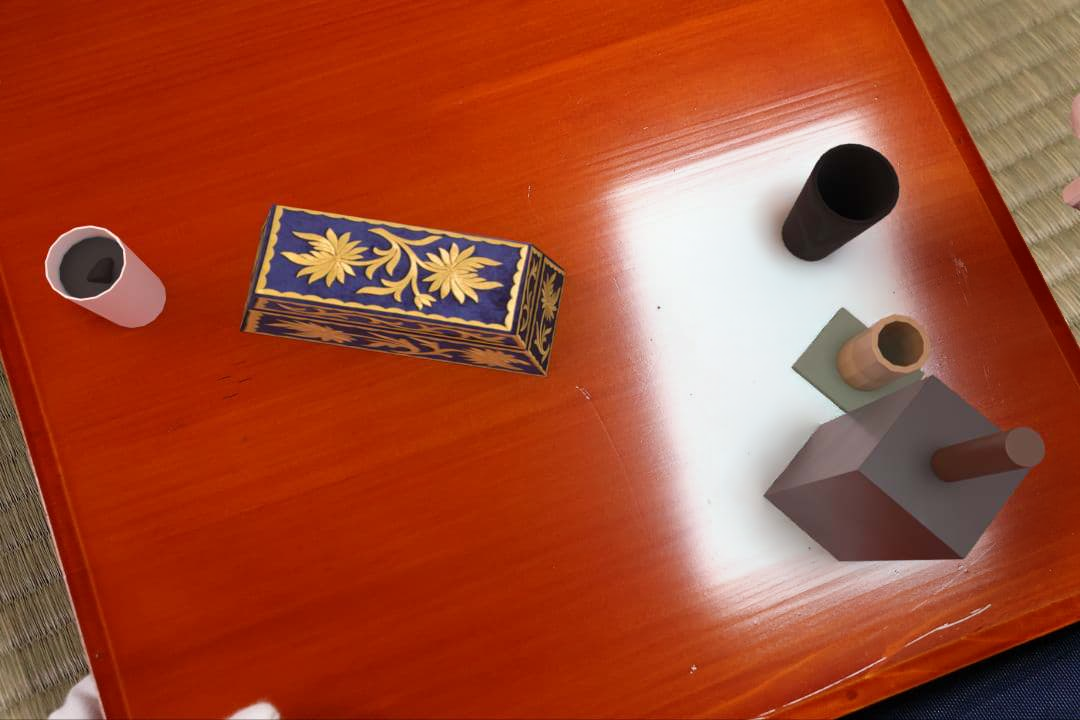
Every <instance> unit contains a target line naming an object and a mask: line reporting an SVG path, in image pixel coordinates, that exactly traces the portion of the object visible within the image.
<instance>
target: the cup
mask: <svg viewBox="0 0 1080 720" xmlns="http://www.w3.org/2000/svg"><path fill="white" fill-rule="evenodd" d="M899 180H900V179H899V175H898V174H897V171H896V169H895V167H894V165H892V163H891V162H890V161H889V159H888V158H887V157H886V156H885V155H883V154H882V153H881V152H880V151H878V150H876V149H875V148H873V147H871V146H867V145H864V144H861V143H853V142H852V143H844V144H843V143H842V144H838V145H835V146H833V147H831V148H829V149H828V150H827V151H825V152H824V153H823V154H821V155H820V157H819V158H818V159H817V161H816V162H815V164H814V166H813V168H812V170H811V172H810V174H809V175H808V177H807V179H806V181H805V182H804V184H803V186H802V188H801V190H800V192H799V194H798V196H797V198H796V200H795V201H794V203H793V204H792V207H791V208H790V210H789V212H788V214H787V215H786V218H785V220H784V221H783V224H782V225H781V233H780V234H781V240H782V242H783V245H784V247H785V248H786V250H787V251H788V252H789V253H790V254H791V255H792V256H793V257H795V258H796V259H799V260H802V261H804V262H805V261H806V262H818V261H821V260H823V259H825V258H827V257H828V256H830V255H832V254H833V253H834V252H836V251H837V250H839V249H840V248H842V247H843V246H845V245H846V244H848V243H850V242H851V241H852V240H854V239H855V238H857V237H859V236H860V235H862V234H863V233H864V232H865V231H868V230H869V229H870V228H872V227H873V226H875V225H877V223H880V222H881V221H882V220H883V219H885V218H886V217H887V216H889V215H890V214H891V212H892V211H893V210H894V208H895V207H896V205H897V202H898V200H899V197H900V188H901V186H900V182H899Z"/></svg>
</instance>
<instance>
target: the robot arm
mask: <svg viewBox="0 0 1080 720" xmlns="http://www.w3.org/2000/svg"><path fill="white" fill-rule="evenodd" d="M1069 116H1070V123H1071V126H1072V129H1073V133H1074V136H1075V138H1076V139H1077V140H1078V141H1080V92H1079V93H1078V94H1077V95H1075V97H1074V98H1073V100H1072V102H1071V106H1070V114H1069ZM1061 196H1062V200H1063V204H1065V205H1067V206H1069V207H1071V208H1073V209H1075V210H1077V211H1078V212H1080V174H1079V175H1078V176H1077V177H1075V179H1073V180H1072V181H1071V182H1070V183H1068V184H1067V186H1065V187H1064V188H1063V189H1062V192H1061Z"/></svg>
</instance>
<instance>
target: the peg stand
mask: <svg viewBox="0 0 1080 720" xmlns="http://www.w3.org/2000/svg"><path fill="white" fill-rule="evenodd" d="M1045 456H1046V445H1045V442H1044V439H1043V438H1042V436H1041V435H1040V433H1038V432H1037V431H1036V430H1034V429H1033V428H1031V427H1028V426H1017V427H1013V428H1009V429H1006V430H1002V429H1000V427H999V426H997V425H996V424H995V423H994V422H993V421H991V420H990V419H988V418H987V417H986V416H985V415H983V414H982V412H980V411H979V410H978V409H977V408H975V407H974V406H973V405H971V404H970V403H969V402H968V401H966V400H965V399H964V398H963V397H961V396H960V395H959V394H958V393H956V391H954V390H953V389H951V387H949V386H948V385H947V384H946V383H944V382H943V381H942V380H941V379H939V378H938V377H937V376H936V375H934V374H931V375H929V376H926V377H924V378H922V379H921V380H919V381H917V382H915V383H913V384H910V385H908V386H906V387H904V388H902V389H899V390H897V391H895V392H893V393H890V394H888V395H886V396H884V397H882V398H879V399H877V400H875V401H873V402H870V403H868V404H866V405H864V406H861V407H859V408H857V409H855V410H853V411H850V412H848V413H846V412H845V413H844V414H841V415H839V416H837V417H835V418H833V419H830V420H828V421H826V422H824V423H821V424H820V425H819V426H818V427H817V429H815V431H814V433H813V434H812V435H811V436H810V437H809V438H808V440H807V441H806V442H805V443H804V445H803V446H802V447H801V448H800V449H799V451H798V452H797V453H796V455H795V456H794V457H793V458H792V459H791V461H790V462H789V463H788V465H787V466H786V467H785V468H784V469H783V471H782V472H781V473H780V474H779V475H778V477H777V478H776V479H775V480H774V482H773V483H772V484H771V485H770V487H768V489H767V490H766V491H765V493H764V494H763V497H764V498H765V499H766V500H768V502H770V503H771V504H772V505H773V506H774V507H776V509H778V510H779V511H780V512H781V513H782V514H783V515H785V516H786V517H787V518H788V519H789V520H790V521H792V522H793V523H794V524H795V525H796V526H798V527H799V528H800V529H801V530H802V531H803V532H804V533H806V534H807V535H808V536H809V537H810V538H811V539H812V540H814V541H815V542H816V543H817V544H819V545H820V546H821V547H822V548H823V549H824V550H825V551H827V553H829V554H830V555H831V556H832V557H834V559H836V560H837V561H838V562H841V563H842V562H843V563H845V562H846V563H847V562H892V561H893V562H899V561H900V562H902V561H953V560H954V561H958V560H966V558H967V557H968V555H969V554H970V553H971V551H972V550H973V549H974V547H975V546H976V545H977V543H978V542H979V541H980V539H981V538H982V536H983V535H984V534H985V532H986V531H987V530H988V528H989V527H990V525H991V524H992V523H993V521H994V520H995V519H996V517H997V516H998V514H999V513H1000V512H1001V510H1002V509H1003V508H1004V507H1005V505H1006V503H1007V502H1008V501H1009V500H1010V498H1011V496H1012V495H1013V494H1014V493H1015V491H1016V490H1017V488H1018V487H1019V486H1020V485H1021V483H1022V482H1023V480H1024V479H1025V478H1026V476H1027V475H1028V474H1029V472H1030V471H1031V469H1032V468H1033V467H1036V466H1039V464H1040V463H1042V461H1043V459H1044V457H1045Z"/></svg>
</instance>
